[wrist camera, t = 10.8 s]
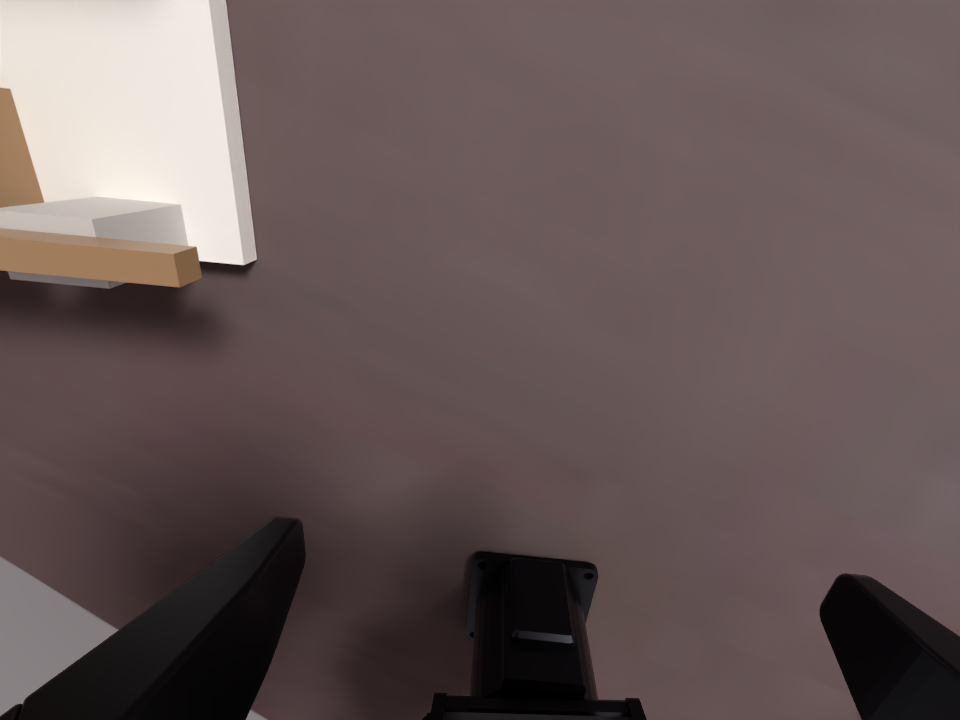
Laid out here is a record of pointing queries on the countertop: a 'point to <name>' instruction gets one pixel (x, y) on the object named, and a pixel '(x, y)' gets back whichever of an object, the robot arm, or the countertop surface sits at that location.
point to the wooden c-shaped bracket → (12, 182)
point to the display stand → (129, 124)
